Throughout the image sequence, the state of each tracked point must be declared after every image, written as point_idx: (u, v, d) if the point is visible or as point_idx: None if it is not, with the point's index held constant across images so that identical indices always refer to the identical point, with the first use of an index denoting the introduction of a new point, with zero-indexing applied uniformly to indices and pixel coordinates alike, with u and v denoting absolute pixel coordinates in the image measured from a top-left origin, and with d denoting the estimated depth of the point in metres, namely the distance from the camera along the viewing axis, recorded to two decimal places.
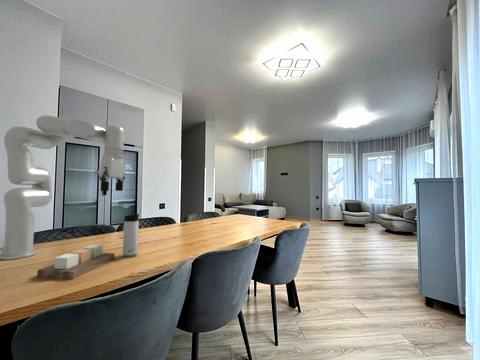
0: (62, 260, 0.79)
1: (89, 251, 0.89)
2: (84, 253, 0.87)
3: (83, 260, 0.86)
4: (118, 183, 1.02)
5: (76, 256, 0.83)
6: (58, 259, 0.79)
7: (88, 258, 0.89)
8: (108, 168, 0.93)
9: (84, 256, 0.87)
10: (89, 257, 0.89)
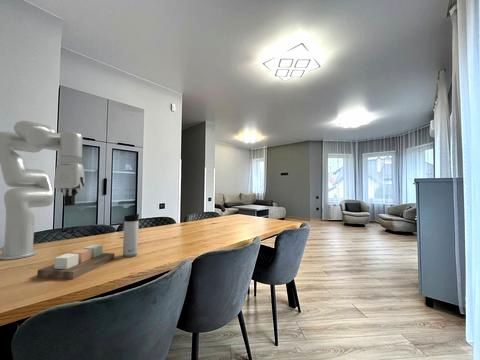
0: (62, 260, 0.79)
1: (89, 251, 0.89)
2: (84, 253, 0.87)
3: (83, 260, 0.86)
4: None
5: (76, 256, 0.83)
6: (58, 259, 0.79)
7: (88, 258, 0.89)
8: (84, 179, 0.91)
9: (84, 256, 0.87)
10: (89, 257, 0.89)
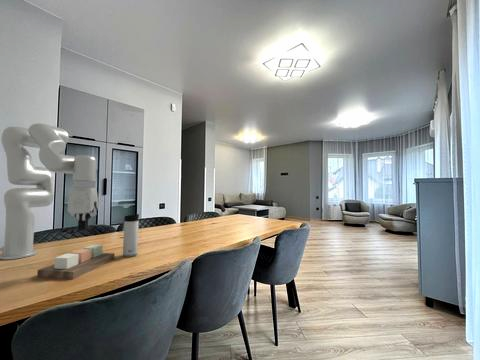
0: (62, 260, 0.79)
1: (89, 251, 0.89)
2: (84, 253, 0.87)
3: (83, 260, 0.86)
4: None
5: (76, 256, 0.83)
6: (58, 259, 0.79)
7: (88, 258, 0.89)
8: (97, 203, 0.90)
9: (84, 256, 0.87)
10: (89, 257, 0.89)
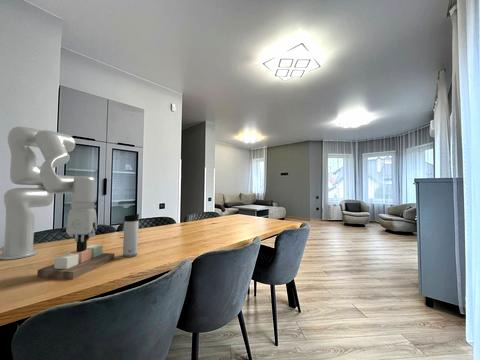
0: (62, 260, 0.79)
1: (89, 251, 0.89)
2: (84, 253, 0.87)
3: (83, 260, 0.86)
4: None
5: (76, 256, 0.83)
6: (58, 259, 0.79)
7: (88, 258, 0.89)
8: (96, 223, 0.89)
9: (84, 256, 0.87)
10: (89, 257, 0.89)
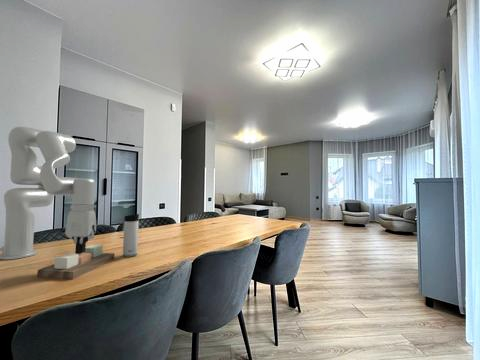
0: (62, 260, 0.79)
1: (89, 255, 0.89)
2: (84, 257, 0.87)
3: None
4: None
5: (76, 256, 0.83)
6: (58, 259, 0.79)
7: None
8: (95, 226, 0.90)
9: (84, 260, 0.87)
10: None
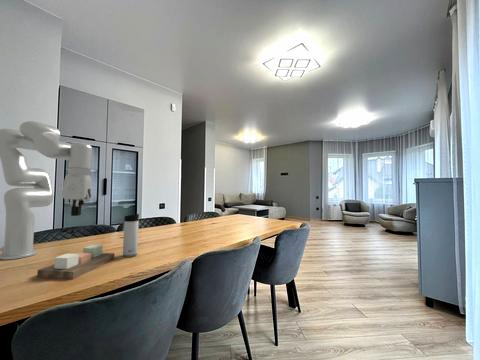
0: (62, 260, 0.79)
1: (89, 255, 0.89)
2: (84, 257, 0.87)
3: None
4: None
5: (76, 256, 0.83)
6: (58, 259, 0.79)
7: None
8: (91, 190, 0.92)
9: (84, 260, 0.87)
10: None
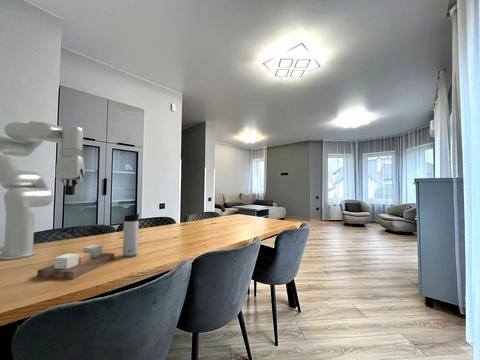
0: (62, 260, 0.79)
1: (89, 255, 0.89)
2: (84, 257, 0.87)
3: None
4: None
5: (76, 256, 0.83)
6: (58, 259, 0.79)
7: None
8: (83, 170, 0.96)
9: (84, 260, 0.87)
10: None
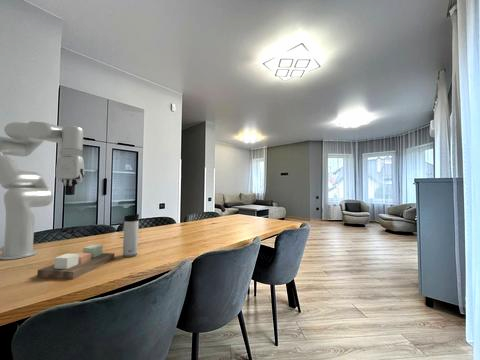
0: (62, 260, 0.79)
1: (89, 255, 0.89)
2: (84, 257, 0.87)
3: None
4: None
5: (76, 256, 0.83)
6: (58, 259, 0.79)
7: None
8: (83, 170, 0.96)
9: (84, 260, 0.87)
10: None
